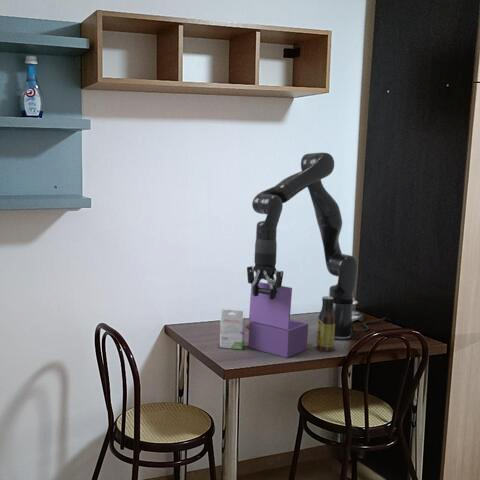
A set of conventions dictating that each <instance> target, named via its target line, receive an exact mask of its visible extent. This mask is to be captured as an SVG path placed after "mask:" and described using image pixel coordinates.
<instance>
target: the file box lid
mask: <svg viewBox="0 0 480 480" xmlns="http://www.w3.org/2000/svg"><path fill="white" fill-rule="evenodd" d="M258 286H259V287H258V288H257V293H259V295H258V296H254V294H253V285H252V284H251V285H250V299H249V313H248V314H249V315H248V321H249V322H251V321H252V322H256V323H261V324H265V325H269V326H274V327H278V328H282V329H287V330H289V324H290V320H291V309H292V297H293V296H292V295H293V287H291V286H290V287H289V286H284V285H281V287H279V288H276V297H275V298H274V299H272V300H271V299H270V289H271V288H270V286H269V284H268V283H267V282H262V281H260V282H259V284H258Z"/></svg>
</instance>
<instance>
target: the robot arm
mask: <svg viewBox="0 0 480 480" xmlns="http://www.w3.org/2000/svg"><path fill="white" fill-rule="evenodd" d="M300 168H301V169H300V170H301V171H299V172H297V173H294V174H291V175H289V176H287V177H285V178H284V179H282V180H280V182H278V183H276V184H275V185H274V186H272V187H270V188H267V189H264V190H262V191H261V192H258V193H257V194H256V195H255V196H254V198H253V199H252V204H251V207H252V209H253V211H254V212H255V213H257V214H259V215H260V214H261V215H266V216H265V220H260V221H258V222H257V223H256V229H255V241H254V266H253V265H250V266H247V267H246V275H247V283H248V284H252V285H253V294H254V296H258V295H259V293H257V288H258V287H259V286H258V284H259V282H261V281H262V280H264V281H266V283H268V284H269V286H270V288H271V289H270V299H271V300H272V299H274V298H275V297H276V288H279V287H281V286H283V277H284V271H283V270H277V268H276V264H277V250H278V248H277V247H278V245H277V229H278V224H279V221H280V218H281V215H282V212H283V204H285V203H288V202H289V201H290V200H291V199H292V198H294V197H295V196H297V194H299V193H300V192H302V191H303V190H305V189H306V188H307V190H308V193H309V195H310V196H309V197H310V200H311V203H312V207H313V210H314V215H315V219H316V223H317V226H318V230H319V234H320V238H321V242H322V247H323V254H324V260H325V266H326V269H327V271H328V273H329V275H332V276H334V277H336V278H337V277H338V279H337V283H336V284H333V285H330V286H329V291H328V296H329V297H333V298H334V301H333V309H332V310H333V312H334V314H335V334H334V340H340V341H341V340H344V341H345V340H349V339H352V332H353V333H365V332H367V331H369V330H370V327H369V326H368V325H369V324H377V323H380V322H382V321H388V322H391V319H390V318H388V319H386V318H387V317H382V318H379V319H377V320H372V321H364V322H363V323H362V325H363V327H365V329H361V330H355V329H354V321H352V311H353V308H354V304H353V298H354V292H355V290H356V287H357V280H358V274H359V272H358V271H359V264H358V260H357V258H356V257H355V256H353V255H350V254H345V253H343V252H342V250H341V247H340V246H341V245H340V241H339V240H340V239H339V238H340V234H341V232H342V228H343V217H342V213H341V209H340V206H339V204H338V202H337V201H336V200H335V199H334V198H333V196H332V195H331V194H330V193H329V192H328V191H327V189H326V188H325V186H324V185H323V182H322V180H323V179H324V178H326V177H329V176H330V175H331V174H332V173H333V171H334V169H335V160H334V157H333V156H332V154H330V153H329V152H311V153H305V154H304V155H302V158H301V159H300Z"/></svg>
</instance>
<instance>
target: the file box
mask: <svg viewBox="0 0 480 480" xmlns="http://www.w3.org/2000/svg"><path fill="white" fill-rule="evenodd" d="M248 324H249V328H248V342H247V343H248V345H247V346H248V348H250V349H252V350H256V351H261V352H265V353H268V354H272V355H275V356H279V357H283V358H290V357H292V356H294V355H297V354H299V353H301V352H304V351H307V350H308V337H309V336H308V334H309V323H307V322H302V321H298V320H295V319H290V324H289V330H287V329H282V328H278V327H274V326H269V325H265V324H261V323H256V322H252V321H249V322H248Z"/></svg>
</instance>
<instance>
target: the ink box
mask: <svg viewBox="0 0 480 480" xmlns="http://www.w3.org/2000/svg"><path fill="white" fill-rule="evenodd" d="M220 311H221V312H220V313H221V314H220V324H219V325H220V326H219V327H220V328H219V348H222V349H232V350H243V349H244V347H245V324H246V323H245V318H246V317H245V315H244V311H243V310H241V309H240V310H238V309H229V308H228V309H227V308H222V309H221V310H220ZM230 313H233V314H230Z"/></svg>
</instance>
